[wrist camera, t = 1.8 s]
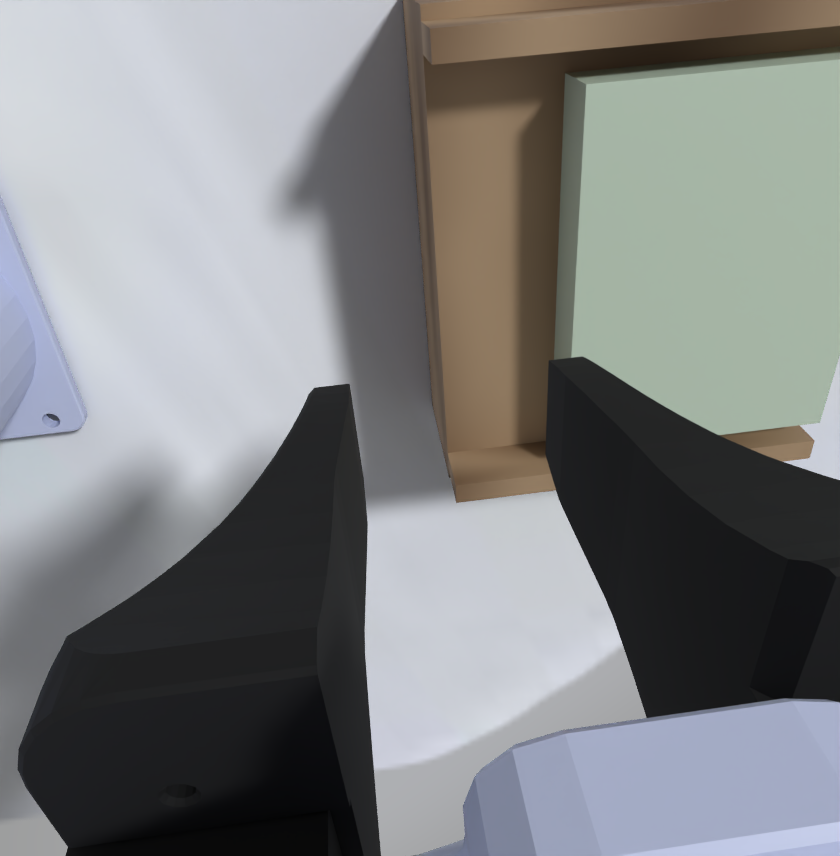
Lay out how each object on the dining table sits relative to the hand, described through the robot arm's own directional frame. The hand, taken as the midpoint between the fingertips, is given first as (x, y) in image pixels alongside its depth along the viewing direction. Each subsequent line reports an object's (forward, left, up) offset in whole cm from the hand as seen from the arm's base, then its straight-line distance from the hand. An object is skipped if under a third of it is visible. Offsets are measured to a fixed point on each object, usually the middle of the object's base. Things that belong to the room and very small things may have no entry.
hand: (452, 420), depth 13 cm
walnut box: (+6, 0, -10) cm, 11 cm away
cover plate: (+7, 0, -6) cm, 9 cm away
